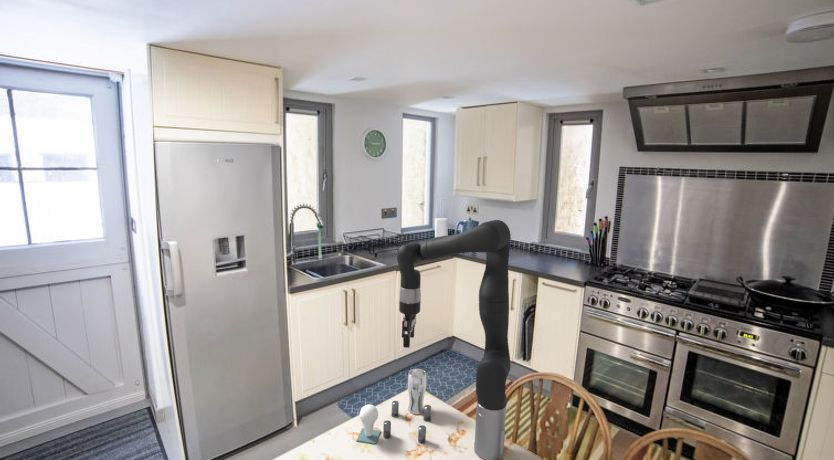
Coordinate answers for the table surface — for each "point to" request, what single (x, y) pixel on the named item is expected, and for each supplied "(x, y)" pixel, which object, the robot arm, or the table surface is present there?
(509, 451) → the table surface
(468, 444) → the table surface
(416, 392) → the beer glass
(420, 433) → the spacers
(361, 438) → the mat
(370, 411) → the lightbulb
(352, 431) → the table surface
